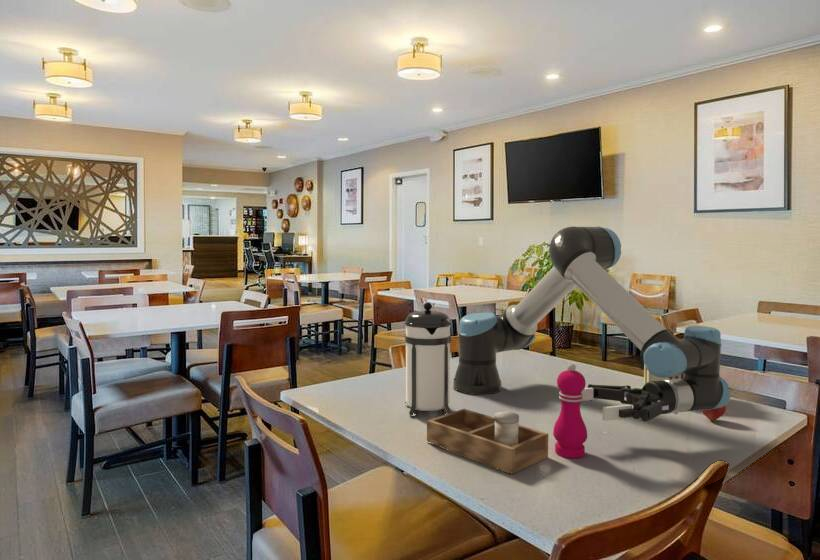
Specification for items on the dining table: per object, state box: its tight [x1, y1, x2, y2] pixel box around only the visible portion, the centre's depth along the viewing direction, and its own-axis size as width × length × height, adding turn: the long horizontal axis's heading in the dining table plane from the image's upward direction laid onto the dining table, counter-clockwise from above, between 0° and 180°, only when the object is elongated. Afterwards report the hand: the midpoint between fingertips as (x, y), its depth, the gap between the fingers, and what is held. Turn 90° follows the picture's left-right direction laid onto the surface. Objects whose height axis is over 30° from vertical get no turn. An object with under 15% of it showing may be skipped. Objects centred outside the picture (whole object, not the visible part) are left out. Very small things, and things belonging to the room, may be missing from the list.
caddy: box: [426, 408, 549, 475], centre depth 122 cm, size 24×13×9 cm, turn 43°
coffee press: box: [403, 301, 452, 415], centre depth 150 cm, size 17×16×30 cm
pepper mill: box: [552, 363, 588, 459], centre depth 119 cm, size 7×7×20 cm
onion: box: [700, 405, 727, 422], centre depth 141 cm, size 6×6×8 cm
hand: (584, 404), depth 120 cm, fingers open, 13 cm apart
